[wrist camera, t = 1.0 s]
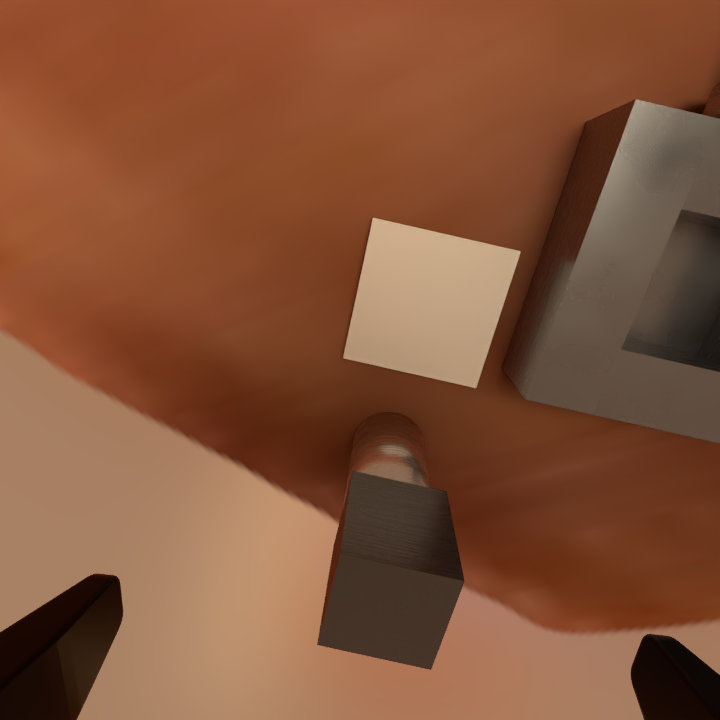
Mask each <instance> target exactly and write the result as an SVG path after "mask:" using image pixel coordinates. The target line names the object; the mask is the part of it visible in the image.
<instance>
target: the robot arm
mask: <svg viewBox="0 0 720 720" xmlns="http://www.w3.org/2000/svg"><path fill="white" fill-rule="evenodd" d="M122 617H123V605H122V597H121V587H120V581H119V579H118V577H117V576H114V575H105V574H93V575H90V576H89V577H87V578H85V579H84V580H82V581H80V582H79V583H77V584H76V585H74V586H72V587H71V588H69V589H68V590H66V591H65V592H63V593H62V594H60V595H58V596H57V597H55V598H54V599H52V600H50V601H49V602H47V603H46V604H44V605H43V606H41V607H39V608H38V609H36V610H35V611H33V612H32V613H30V614H28V615H27V616H25V617H24V618H22V619H21V620H19V621H17V622H16V623H14V624H13V625H11V626H9V627H8V628H6V629H5V630H3V631H2V632H0V720H77V718H78V716H79V714H80V712H81V709H82V708H83V705H84V703H85V701H86V699H87V697H88V694H89V692H90V690H91V688H92V686H93V684H94V682H95V679H96V677H97V675H98V673H99V671H100V669H101V666H102V664H103V662H104V660H105V658H106V656H107V653H108V651H109V649H110V647H111V644H112V642H113V640H114V638H115V636H116V634H117V632H118V629H119V627H120V625H121V621H122ZM631 680H632V685H633V688H634V691H635V694H636V697H637V700H638V703H639V705H640V709H641V712H642V715H643V718H644V720H720V675H719V674H718V673H716V672H715V671H714V670H713V669H712V668H710V667H709V666H708V665H707V664H705V663H704V662H703V661H702V660H701V659H699V658H698V657H697V656H696V655H695V654H693V653H692V652H691V651H690V650H688V649H687V648H686V647H685V646H684V645H682V644H681V643H680V642H679V641H677V640H676V639H674V638H672V637H669V636H663V635H654V634H647V635H646V636H644V637H643V639H642V641H641V644H640V646H639V649H638V651H637V654H636V656H635V659H634V662H633V664H632V668H631Z"/></svg>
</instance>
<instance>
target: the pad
mask: <svg viewBox="0 0 720 720" xmlns="http://www.w3.org/2000/svg"><path fill="white" fill-rule="evenodd" d="M520 253H521V251H517V250H513V249H509V248H505V247H500V246H496V245H491V244H487V243H483V242H478V241H474V240H469V239H465V238H461V237H456V236H452V235H448V234H443V233H439V232H434V231H430V230H426V229H421V228H417V227H412V226H408V225H404V224H399V223H395V222H391V221H386V220H382V219H377V218H373V220H372V225H371V230H370V234H369V239H368V244H367V248H366V253H365V258H364V262H363V267H362V272H361V276H360V281H359V286H358V290H357V295H356V300H355V304H354V309H353V314H352V318H351V323H350V327H349V332H348V337H347V341H346V346H345V351H344V355H343V358H344V359H349V360H353V361H358V362H362V363H366V364H371V365H375V366H380V367H384V368H389V369H393V370H397V371H402V372H406V373H411V374H415V375H420V376H424V377H429V378H433V379H437V380H442V381H446V382H451V383H455V384H460V385H464V386H469V387H473V388H476V387H477V384H478V381H479V378H480V375H481V372H482V369H483V365H484V362H485V359H486V356H487V353H488V350H489V347H490V344H491V341H492V338H493V335H494V332H495V329H496V326H497V323H498V320H499V317H500V314H501V311H502V308H503V304H504V301H505V298H506V295H507V292H508V289H509V286H510V283H511V280H512V277H513V274H514V271H515V268H516V265H517V262H518V259H519V256H520Z"/></svg>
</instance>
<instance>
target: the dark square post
mask: <svg viewBox="0 0 720 720" xmlns="http://www.w3.org/2000/svg"><path fill="white" fill-rule="evenodd" d="M463 584H464V577H463V572H462V567H461V562H460V557H459V552H458V547H457V542H456V537H455V532H454V527H453V522H452V517H451V512H450V507H449V502H448V497H447V492H446V491H442V490H437V489H433V488H431V485H430V479H429V472H428V465H427V458H426V452H425V445H424V439H423V435H422V432H421V431H420V429H419V427H418V426H417V425H416V424H415V423H414V422H413V421H412V420H411V419H409V418H407V417H406V416H403V415H401V414H397V413H389V412H386V413H379V414H376V415H373V416H371V417H369V418H367V419H366V420H365V421H364V422H362V423H361V425H360V426H359V427H358V429H357V431H356V433H355V436H354V441H353V447H352V453H351V460H350V466H349V472H348V479H347V485H346V491H345V498H344V504H343V510H342V514H341V519H340V523H339V527H338V531H337V535H336V539H335V543H334V548H333V554H332V560H331V566H330V572H329V578H328V584H327V590H326V596H325V602H324V608H323V614H322V620H321V626H320V632H319V638H318V644H317V645H321V646H325V647H330V648H334V649H339V650H343V651H348V652H352V653H357V654H362V655H367V656H371V657H375V658H380V659H385V660H389V661H394V662H398V663H403V664H407V665H412V666H416V667H421V668H425V669H430V670H431V668H432V666H433V663H434V660H435V658H436V655H437V652H438V650H439V647H440V645H441V642H442V639H443V636H444V634H445V631H446V629H447V626H448V623H449V620H450V618H451V615H452V613H453V610H454V607H455V605H456V602H457V600H458V597H459V594H460V592H461V589H462V586H463Z"/></svg>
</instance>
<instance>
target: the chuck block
mask: <svg viewBox="0 0 720 720" xmlns="http://www.w3.org/2000/svg"><path fill="white" fill-rule="evenodd" d="M502 368H503V370H504V371H505V373H506V374H507V375H508V377H509V378H510V380H511V381H512V382H513V384H514V385H515V387H516V388H517V389H518V391H519V392H520V394H521V395H522V396H523V398H524V399H525V400H529V401H534V402H538V403H543V404H547V405H552V406H556V407H560V408H565V409H569V410H574V411H578V412H583V413H587V414H592V415H596V416H600V417H605V418H609V419H614V420H618V421H623V422H627V423H631V424H636V425H640V426H645V427H649V428H654V429H658V430H663V431H667V432H671V433H676V434H680V435H685V436H689V437H694V438H698V439H703V440H707V441H711V442H716V443H720V84H719V85H717V86H715V87H714V88H713V90H712V91H711V94H710V96H709V99H708V101H707V103H706V106H705V108H704V111H703V113H702V115H701V114H697V113H693V112H688V111H684V110H680V109H676V108H671V107H667V106H663V105H658V104H654V103H650V102H645V101H641V100H637V99H635V100H633V101H631V102H629V103H627V104H624V105H622V106H620V107H618V108H616V109H613V110H611V111H609V112H607V113H604V114H602V115H600V116H598V117H596V118H593V119H591V120H589V121H587V122H586V125H585V128H584V131H583V133H582V136H581V139H580V142H579V145H578V148H577V151H576V154H575V157H574V160H573V163H572V166H571V168H570V171H569V174H568V177H567V180H566V183H565V186H564V189H563V192H562V195H561V198H560V200H559V203H558V206H557V209H556V212H555V215H554V218H553V221H552V224H551V227H550V230H549V233H548V235H547V238H546V241H545V244H544V247H543V250H542V253H541V256H540V259H539V262H538V265H537V267H536V270H535V273H534V276H533V279H532V282H531V285H530V288H529V291H528V294H527V297H526V300H525V302H524V305H523V308H522V311H521V314H520V317H519V320H518V323H517V326H516V329H515V332H514V334H513V337H512V340H511V343H510V346H509V349H508V352H507V355H506V358H505V361H504V364H503V367H502Z"/></svg>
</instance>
